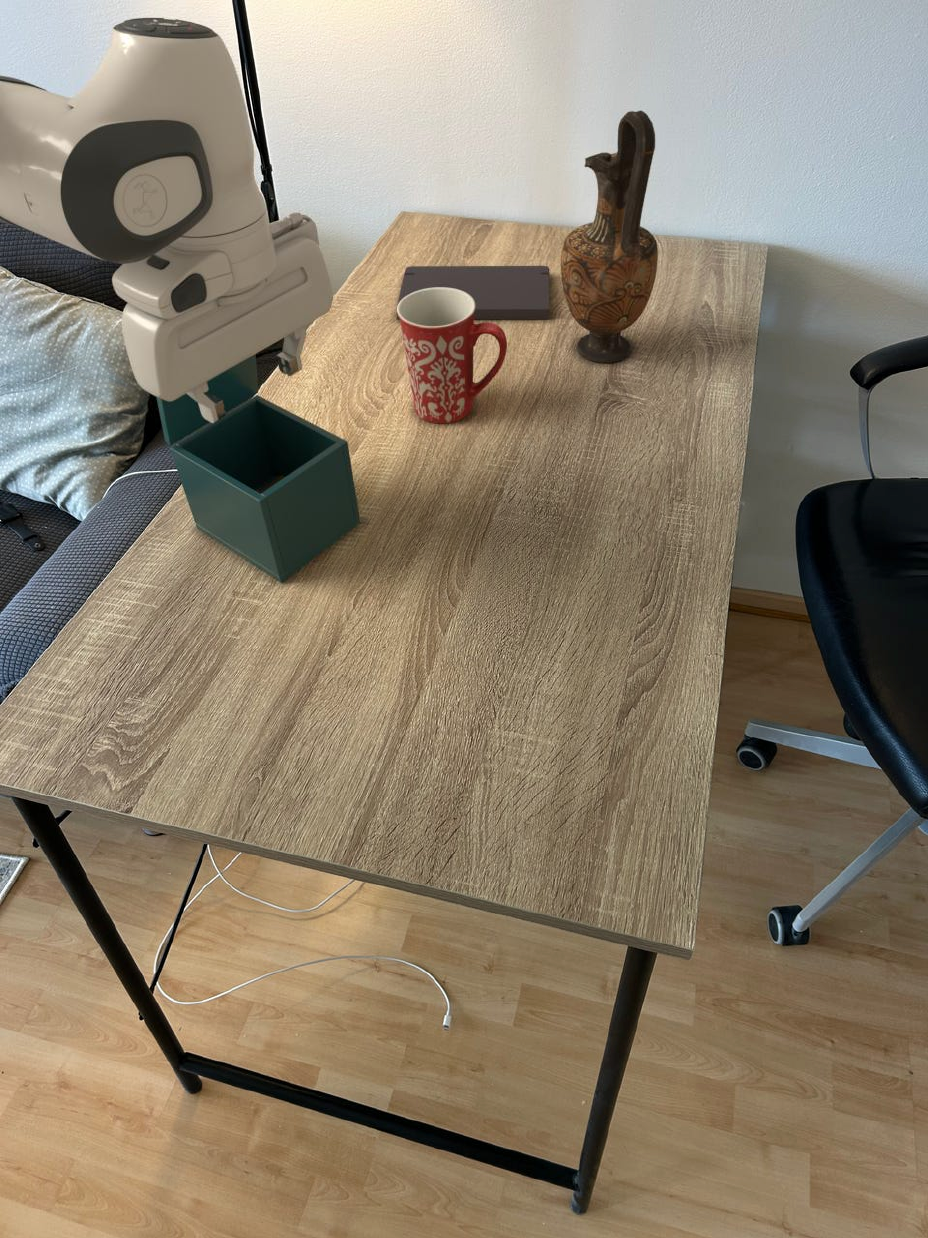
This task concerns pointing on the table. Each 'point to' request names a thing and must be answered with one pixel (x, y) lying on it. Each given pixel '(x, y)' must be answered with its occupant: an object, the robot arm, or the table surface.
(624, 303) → the vase
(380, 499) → the table surface
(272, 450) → the teal open-top bin
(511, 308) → the notebook
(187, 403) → the lid
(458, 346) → the mug
